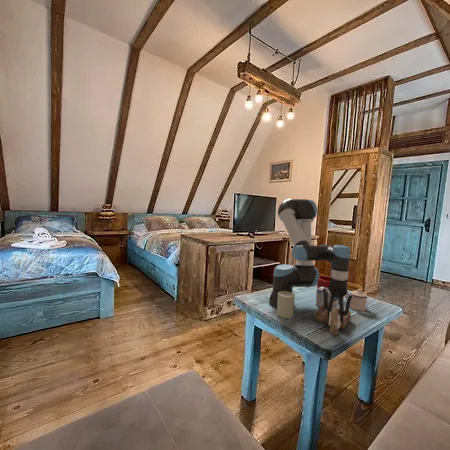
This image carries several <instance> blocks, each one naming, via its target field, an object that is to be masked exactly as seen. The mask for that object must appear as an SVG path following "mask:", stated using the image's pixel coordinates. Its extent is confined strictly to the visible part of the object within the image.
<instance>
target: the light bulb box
mask: <svg viewBox="0 0 450 450" xmlns="http://www.w3.org/2000/svg"><path fill="white" fill-rule="evenodd" d="M324 288H325V287H320V288H316V296H315V297H316V298H315V306H318V307H319V308H320V307H321V306H322V305H323V304H324V293H323V289H324ZM330 299H331V293H330V291H329V290H328V305H329V303H330ZM338 304H339V298H337V297H335V299H334V302H333V307H337V308H339V307H338V306H339V305H338Z"/></svg>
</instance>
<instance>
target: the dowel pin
mask: <svg viewBox="0 0 450 450" xmlns="http://www.w3.org/2000/svg"><path fill="white" fill-rule="evenodd" d="M339 308H340V307H338V308H337V307H332V315H331V325H330V326H329V327H330V328H329V333H330V334H331V335H339V329H338V328H337V324H338V315H339V314H340V309H339Z"/></svg>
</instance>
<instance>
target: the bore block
mask: <svg viewBox="0 0 450 450" xmlns="http://www.w3.org/2000/svg"><path fill="white" fill-rule="evenodd" d="M328 306H329V305H328ZM332 307H333V306H332ZM338 308H339V309H340V307H338ZM331 310H332V309H331ZM344 311H345V309H344ZM327 313H328V311H327V310H326V309H324V304H323V305H322V306H321V307H320V306H319V308H318V309H317V310H316V311H315V312H314V322H317V323H319V324H323V325H325V326H328V327H330V325H329V317H327ZM351 315H352V312H351V311H350V310H349V313H348V314H347V315H344V318H343V321H342V322H341V325H340V327H339V328H338V331H344V330H345V329H346V327H347V326H348V325H349V323H350V322H351Z"/></svg>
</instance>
